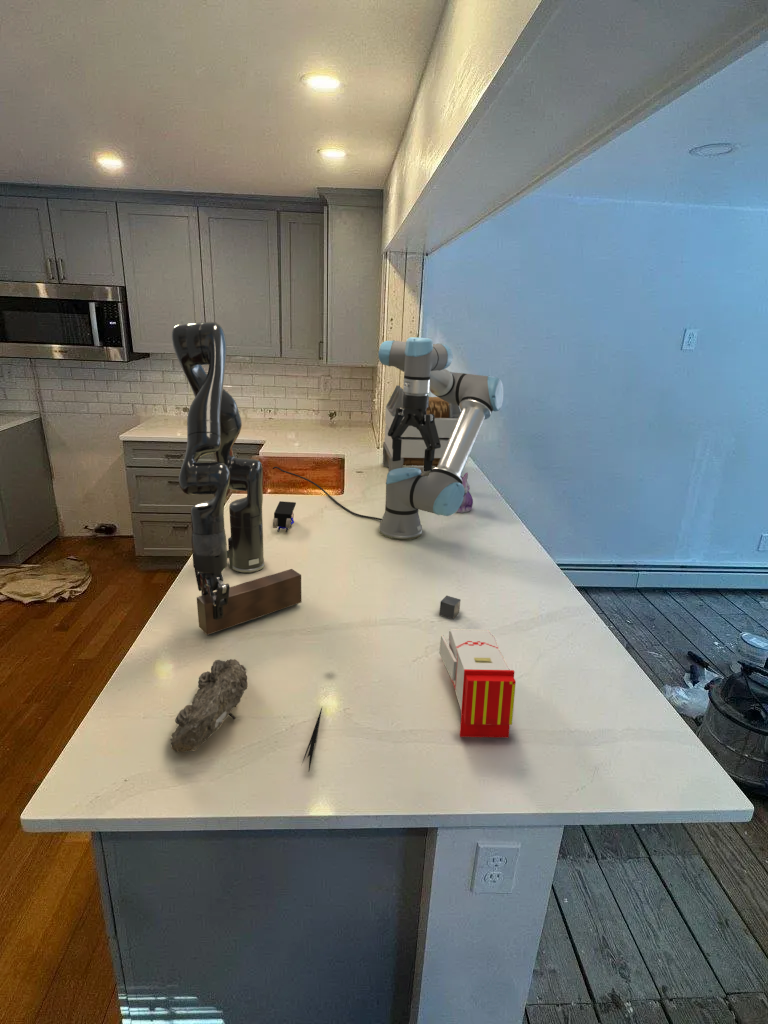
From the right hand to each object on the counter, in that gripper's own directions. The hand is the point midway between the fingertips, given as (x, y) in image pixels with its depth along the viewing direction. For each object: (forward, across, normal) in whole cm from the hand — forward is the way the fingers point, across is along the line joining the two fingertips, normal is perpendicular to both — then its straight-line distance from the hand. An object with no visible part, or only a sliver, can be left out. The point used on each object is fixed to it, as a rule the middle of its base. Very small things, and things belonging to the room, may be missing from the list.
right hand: (411, 465), depth 170 cm
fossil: (+31, +32, -79) cm, 91 cm away
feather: (+31, +45, -64) cm, 84 cm away
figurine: (+31, -22, +51) cm, 63 cm away
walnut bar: (+29, +4, -56) cm, 63 cm away
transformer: (+31, -70, +73) cm, 106 cm away
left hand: (+26, +4, -66) cm, 71 cm away
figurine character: (+31, -45, -17) cm, 57 cm away
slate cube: (+31, +32, -14) cm, 47 cm away
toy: (+31, +57, -34) cm, 73 cm away
